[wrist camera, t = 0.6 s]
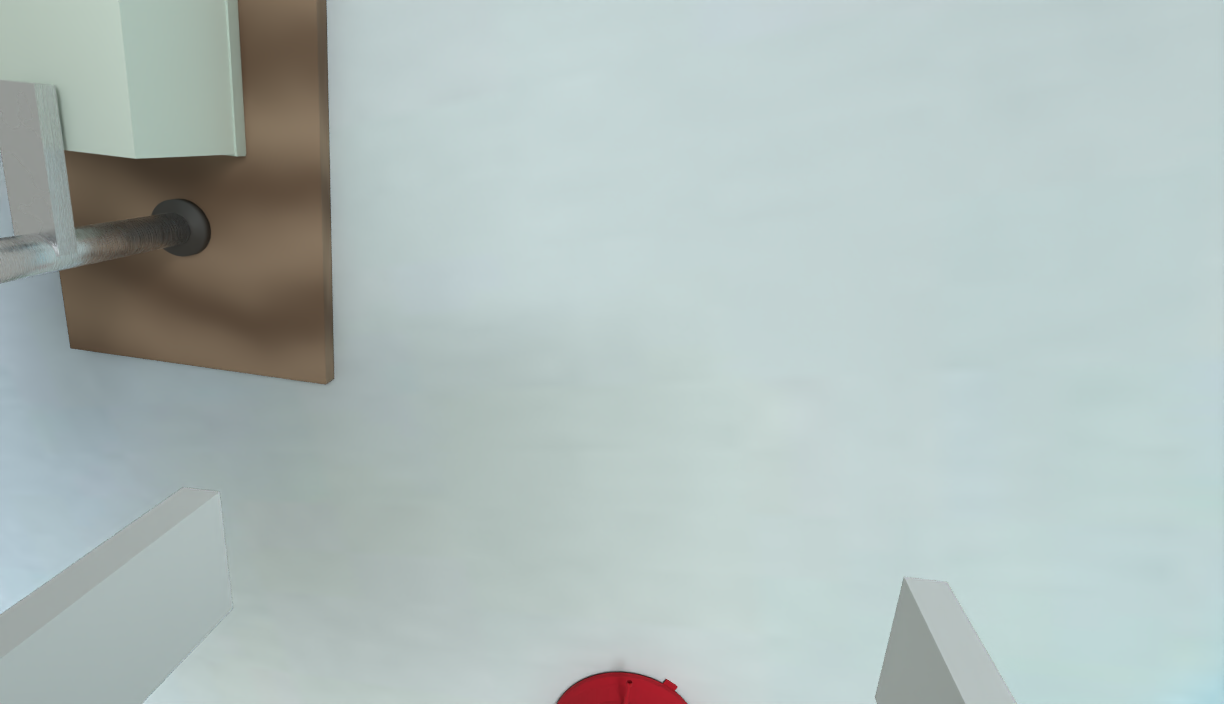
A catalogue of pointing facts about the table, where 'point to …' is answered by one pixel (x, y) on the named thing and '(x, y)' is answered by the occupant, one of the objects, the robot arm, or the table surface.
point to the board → (225, 225)
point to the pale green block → (133, 72)
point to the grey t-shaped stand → (58, 196)
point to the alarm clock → (621, 690)
